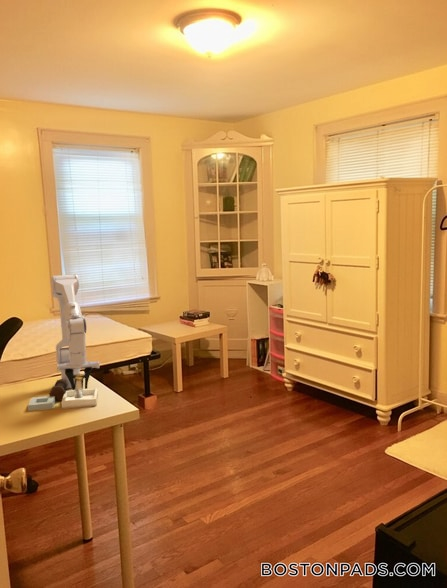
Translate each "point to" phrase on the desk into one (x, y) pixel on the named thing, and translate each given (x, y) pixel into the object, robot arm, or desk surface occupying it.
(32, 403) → the grey square socket block
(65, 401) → the tray
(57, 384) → the dark brown faceted bar
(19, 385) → the desk surface
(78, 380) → the pin
